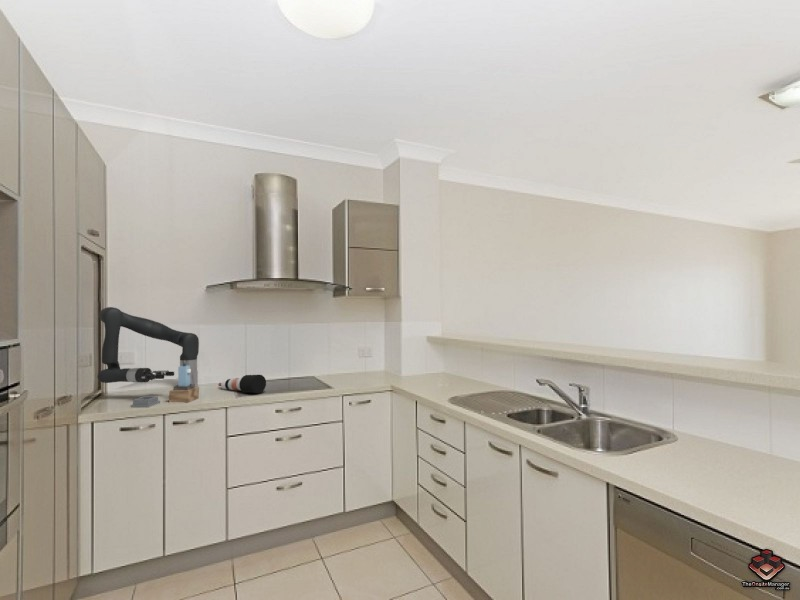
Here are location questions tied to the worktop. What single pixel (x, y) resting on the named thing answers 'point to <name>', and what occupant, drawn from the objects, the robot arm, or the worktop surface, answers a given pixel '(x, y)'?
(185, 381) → the plug
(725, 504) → the worktop surface
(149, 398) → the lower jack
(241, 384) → the black and white bottle
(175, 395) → the upper stand
